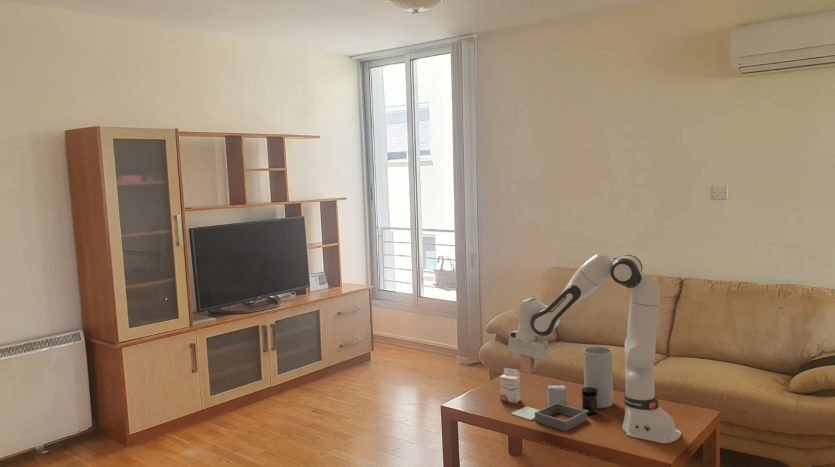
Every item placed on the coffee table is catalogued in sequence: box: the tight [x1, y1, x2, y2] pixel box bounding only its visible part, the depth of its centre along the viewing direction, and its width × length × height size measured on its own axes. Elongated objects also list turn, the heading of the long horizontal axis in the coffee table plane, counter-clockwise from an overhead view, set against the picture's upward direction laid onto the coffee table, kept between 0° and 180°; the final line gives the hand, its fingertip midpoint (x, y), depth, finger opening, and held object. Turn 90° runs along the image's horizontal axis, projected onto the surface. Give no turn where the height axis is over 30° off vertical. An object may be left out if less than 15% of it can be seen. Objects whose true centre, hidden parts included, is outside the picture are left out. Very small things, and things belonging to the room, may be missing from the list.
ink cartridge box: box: [499, 367, 521, 404], centre depth 292 cm, size 9×5×15 cm, turn 58°
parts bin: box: [534, 403, 588, 432], centre depth 265 cm, size 16×16×4 cm
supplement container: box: [581, 387, 599, 416], centre depth 272 cm, size 7×7×10 cm
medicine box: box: [547, 385, 567, 406], centre depth 283 cm, size 8×4×9 cm, turn 84°
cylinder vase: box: [583, 346, 614, 409], centre depth 282 cm, size 12×12×25 cm
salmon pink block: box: [519, 355, 538, 374], centre depth 272 cm, size 5×5×7 cm
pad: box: [510, 406, 540, 422], centre depth 274 cm, size 11×11×1 cm
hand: (528, 365), depth 272 cm, fingers closed on salmon pink block, 5 cm apart
